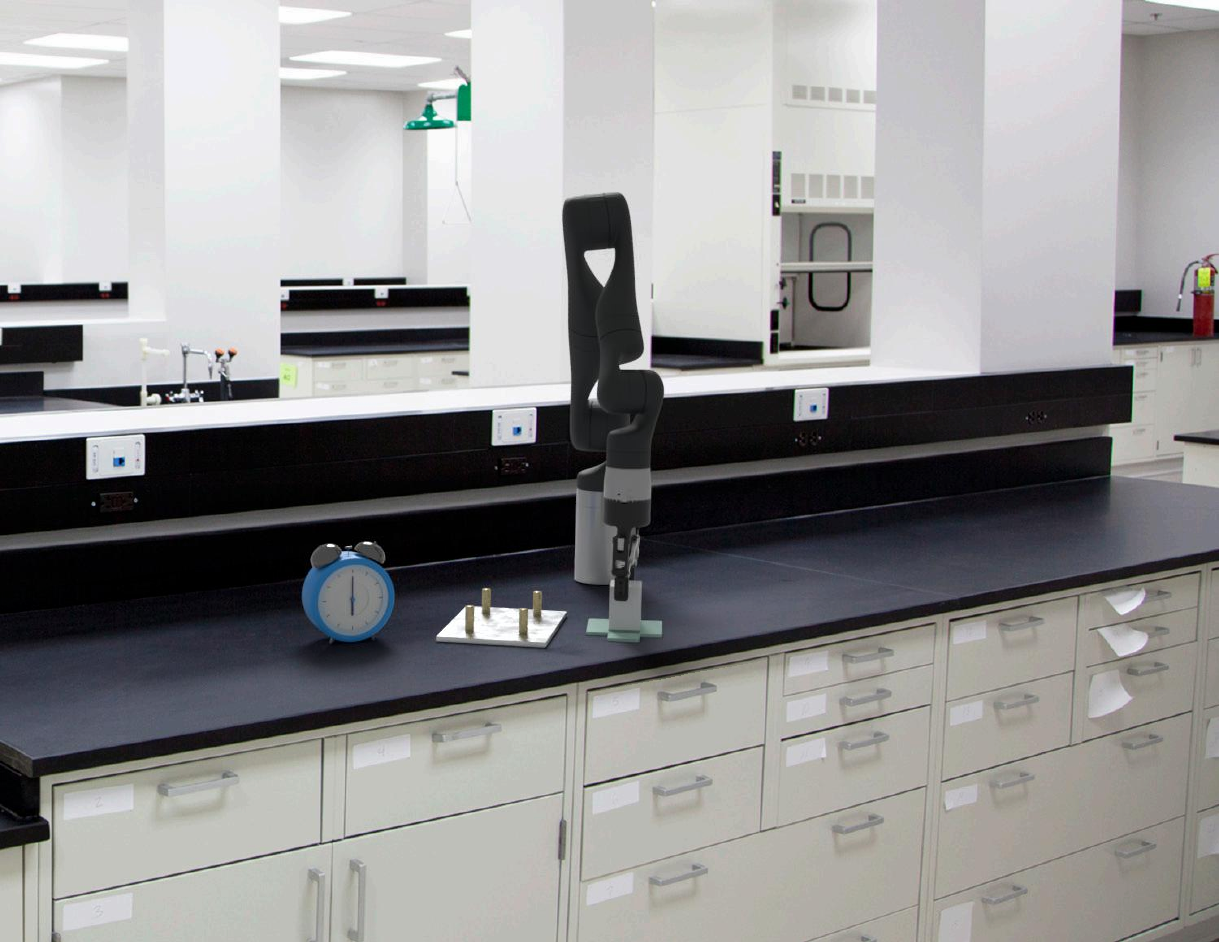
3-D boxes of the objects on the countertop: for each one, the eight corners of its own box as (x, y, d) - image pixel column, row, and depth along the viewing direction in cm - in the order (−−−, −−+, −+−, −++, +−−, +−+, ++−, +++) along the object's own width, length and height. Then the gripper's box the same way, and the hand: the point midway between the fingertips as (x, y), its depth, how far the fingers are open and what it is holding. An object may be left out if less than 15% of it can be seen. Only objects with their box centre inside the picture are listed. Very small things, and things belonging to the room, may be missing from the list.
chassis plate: (466, 610, 252) (466, 582, 251) (566, 616, 250) (567, 587, 249) (436, 641, 231) (436, 610, 230) (545, 647, 229) (546, 616, 228)
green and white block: (589, 618, 250) (591, 572, 249) (662, 620, 250) (663, 574, 249) (584, 642, 234) (586, 593, 233) (661, 644, 234) (663, 595, 233)
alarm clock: (311, 647, 226) (311, 549, 224) (300, 637, 231) (300, 541, 229) (395, 639, 231) (395, 544, 229) (383, 630, 237) (383, 536, 235)
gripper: (609, 488, 246) (607, 585, 248) (597, 500, 232) (594, 603, 234) (655, 490, 245) (652, 587, 247) (645, 502, 231) (642, 605, 233)
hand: (624, 595), depth 241 cm, fingers open, 8 cm apart
